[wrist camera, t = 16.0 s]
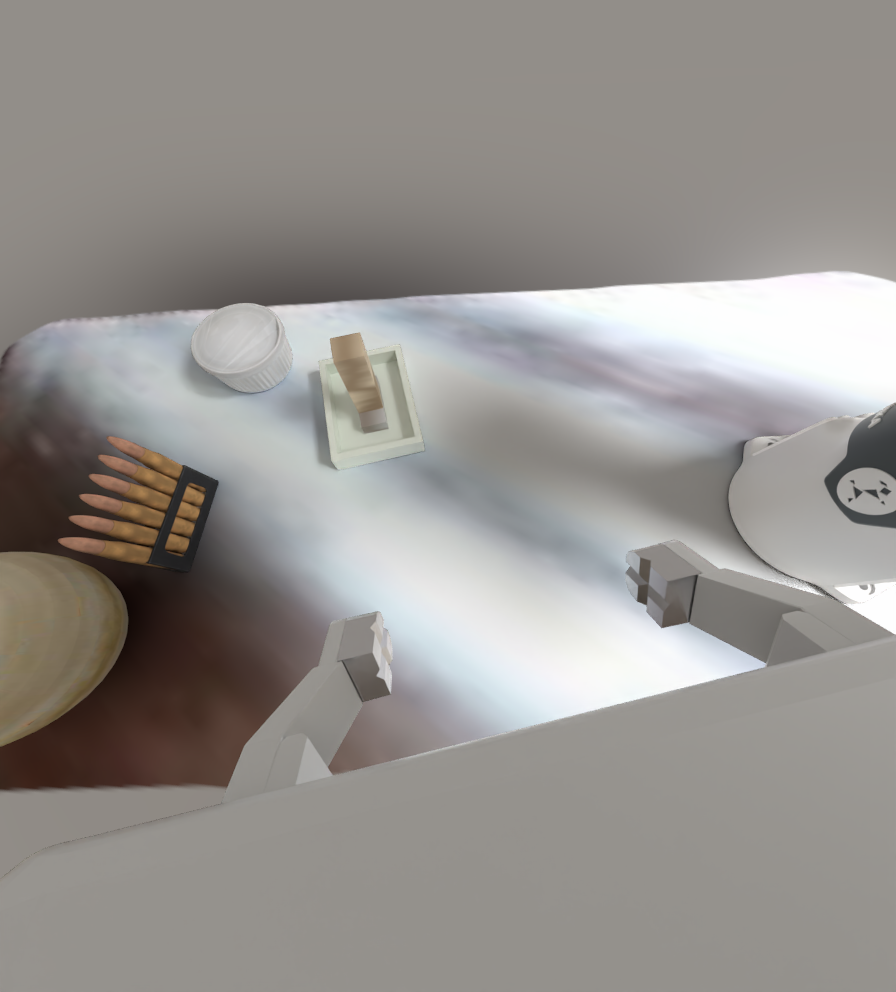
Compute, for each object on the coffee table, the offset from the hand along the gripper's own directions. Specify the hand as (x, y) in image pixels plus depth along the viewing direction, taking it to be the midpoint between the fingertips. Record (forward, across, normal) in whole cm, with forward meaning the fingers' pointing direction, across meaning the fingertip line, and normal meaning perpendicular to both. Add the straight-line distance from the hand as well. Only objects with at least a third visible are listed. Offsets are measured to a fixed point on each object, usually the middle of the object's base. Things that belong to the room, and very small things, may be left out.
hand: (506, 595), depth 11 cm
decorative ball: (+21, +39, +13) cm, 46 cm away
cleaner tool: (+35, +7, -2) cm, 36 cm away
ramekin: (+43, +21, -9) cm, 49 cm away
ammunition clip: (+28, +29, +6) cm, 41 cm away
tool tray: (+35, +7, -1) cm, 36 cm away
